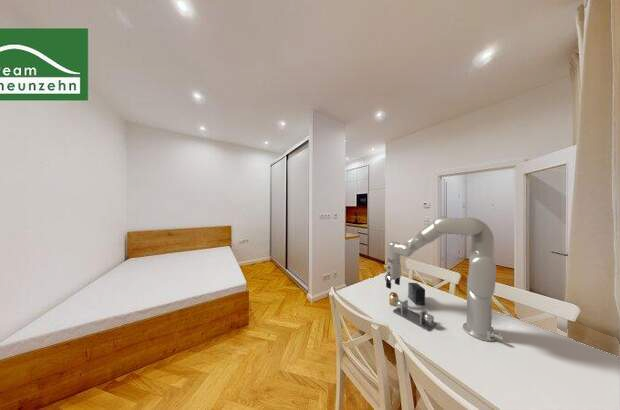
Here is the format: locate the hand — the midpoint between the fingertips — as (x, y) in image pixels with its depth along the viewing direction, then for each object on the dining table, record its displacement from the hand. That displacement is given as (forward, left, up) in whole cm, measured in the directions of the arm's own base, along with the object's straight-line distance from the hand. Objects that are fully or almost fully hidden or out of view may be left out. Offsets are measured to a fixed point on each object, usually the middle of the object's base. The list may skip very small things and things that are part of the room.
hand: (392, 286), depth 124 cm
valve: (-1, 0, -12) cm, 12 cm away
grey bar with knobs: (-16, +4, -12) cm, 20 cm away
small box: (-7, -17, -12) cm, 22 cm away
